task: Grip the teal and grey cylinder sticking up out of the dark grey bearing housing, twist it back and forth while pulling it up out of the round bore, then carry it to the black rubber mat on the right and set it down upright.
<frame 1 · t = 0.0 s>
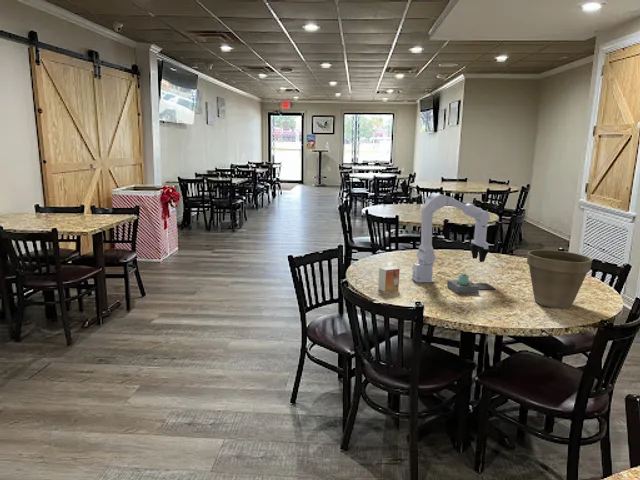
hand: (478, 260, 244), 10 cm above the table, tool pointing down, fingers open, 7 cm apart
small box: (388, 290, 225), on the table
teal and grey cylinder: (463, 282, 226), in the housing
mat: (482, 287, 232), on the table
housing: (462, 290, 226), on the table
plant pot: (553, 303, 210), on the table
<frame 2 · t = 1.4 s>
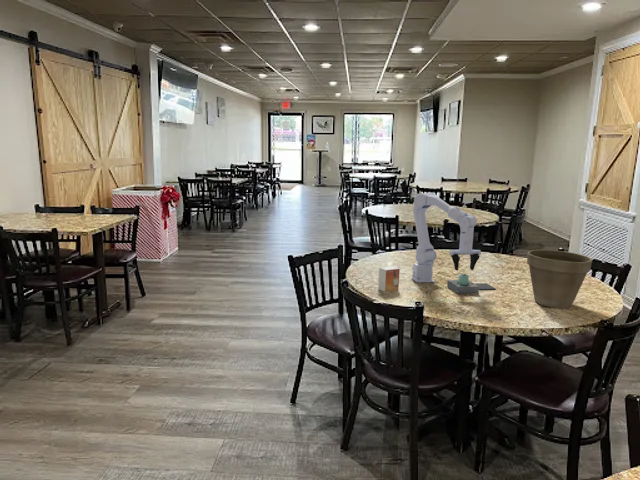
hand: (464, 269, 225), 10 cm above the table, tool pointing down, fingers open, 7 cm apart
nothing on the table moved.
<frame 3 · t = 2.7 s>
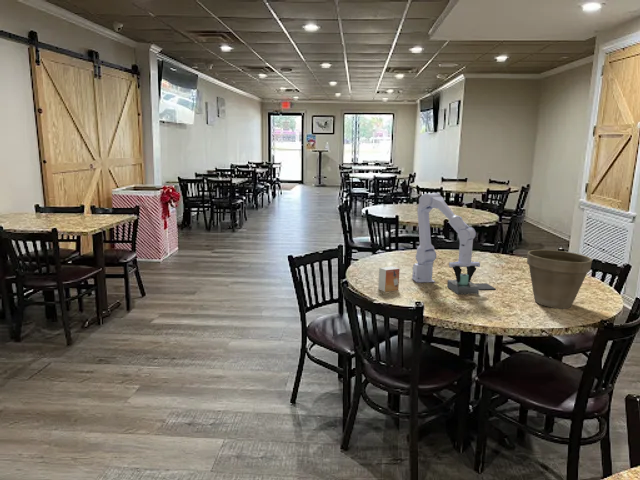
hand: (463, 281, 225), 4 cm above the table, tool pointing down, fingers closed on teal and grey cylinder, 4 cm apart
teal and grey cylinder: (463, 282, 226), in the housing, touching gripper
everything else where it was.
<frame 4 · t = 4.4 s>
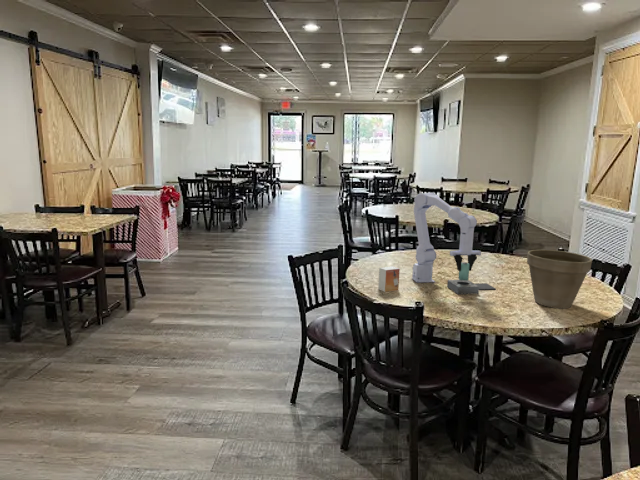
hand: (464, 270, 224), 10 cm above the table, tool pointing down, fingers closed on teal and grey cylinder, 4 cm apart
teal and grey cylinder: (464, 271, 224), point 9 cm above the table, touching gripper
everything else where it was.
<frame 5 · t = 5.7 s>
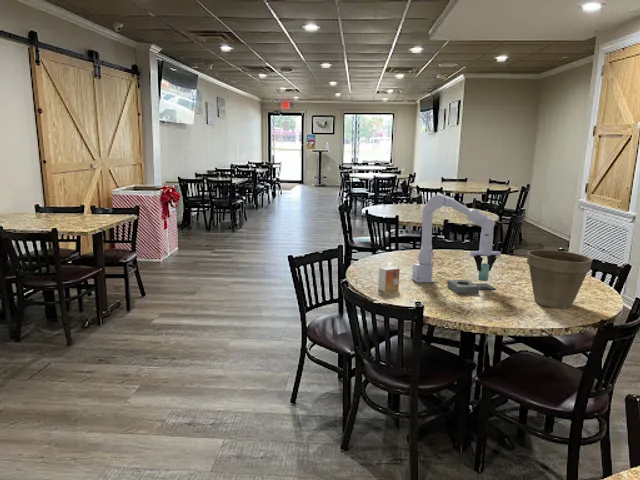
hand: (483, 270, 230), 8 cm above the table, tool pointing down, fingers closed on teal and grey cylinder, 4 cm apart
teal and grey cylinder: (483, 271, 230), point 8 cm above the table, touching gripper
everything else where it was.
when the fingers open (5 cm above the table, at t = 6.6 s): teal and grey cylinder stays where it is, resting on mat.
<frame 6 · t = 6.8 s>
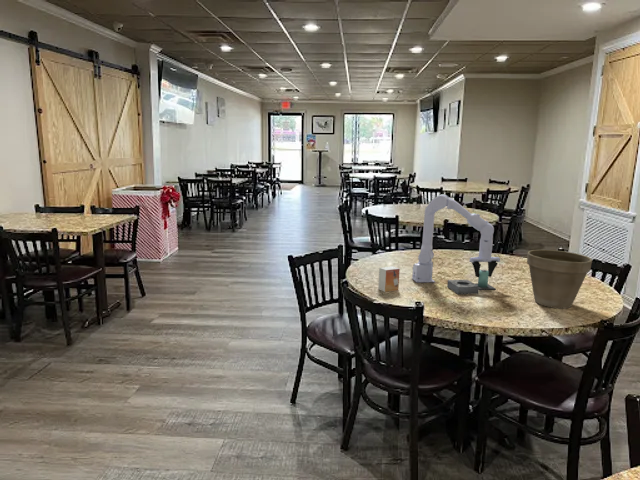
hand: (483, 276, 231), 5 cm above the table, tool pointing down, fingers open, 6 cm apart
teal and grey cylinder: (483, 278, 231), on the mat, point 5 cm above the table
everything else where it was.
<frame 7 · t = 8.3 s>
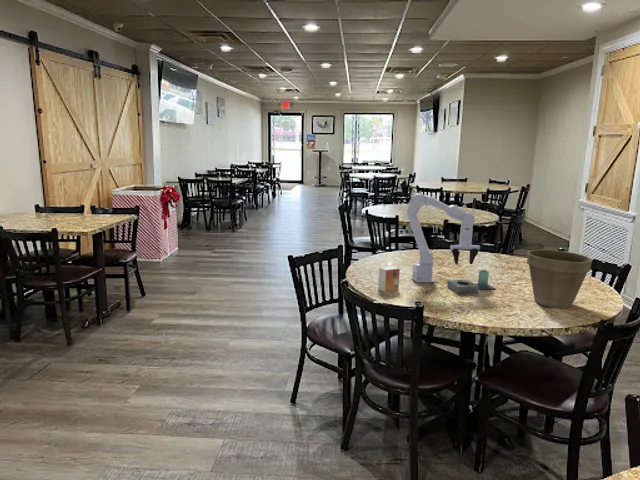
hand: (463, 263, 237), 10 cm above the table, tool pointing down, fingers open, 7 cm apart
nothing on the table moved.
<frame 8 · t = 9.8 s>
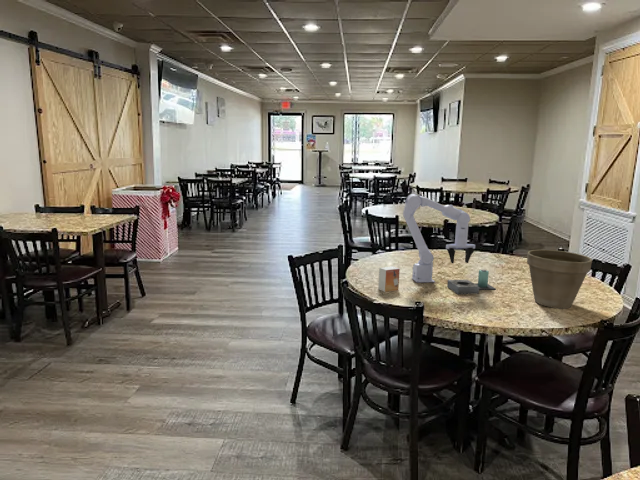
hand: (459, 262, 239), 10 cm above the table, tool pointing down, fingers open, 7 cm apart
nothing on the table moved.
at the end: teal and grey cylinder inside the target area on the mat (0.1 cm from its centre), point 4.6 cm above the mat's base; teal and grey cylinder tilted 1°; teal and grey cylinder touching mat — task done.
